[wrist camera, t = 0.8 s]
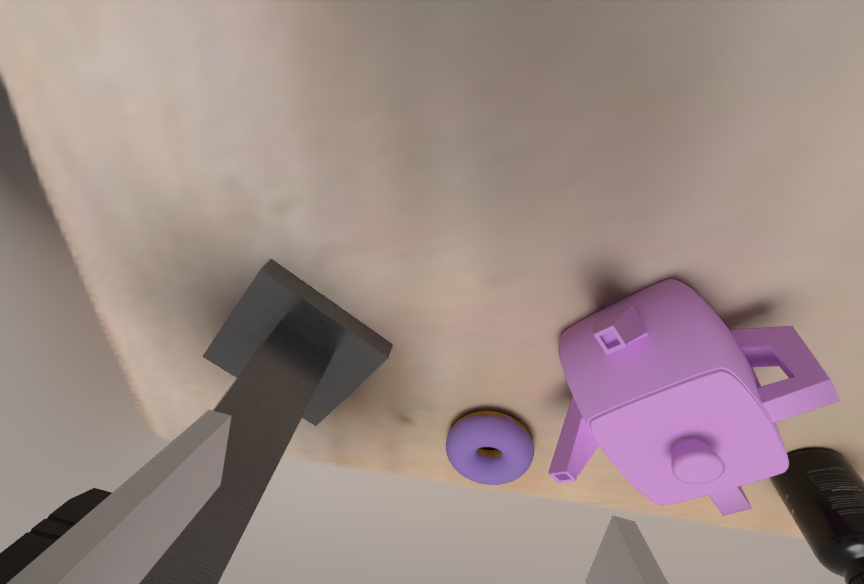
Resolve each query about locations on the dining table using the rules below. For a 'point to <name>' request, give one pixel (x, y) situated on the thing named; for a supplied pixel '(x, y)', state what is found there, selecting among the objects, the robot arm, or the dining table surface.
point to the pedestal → (268, 405)
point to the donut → (489, 432)
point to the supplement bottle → (827, 508)
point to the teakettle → (682, 397)
